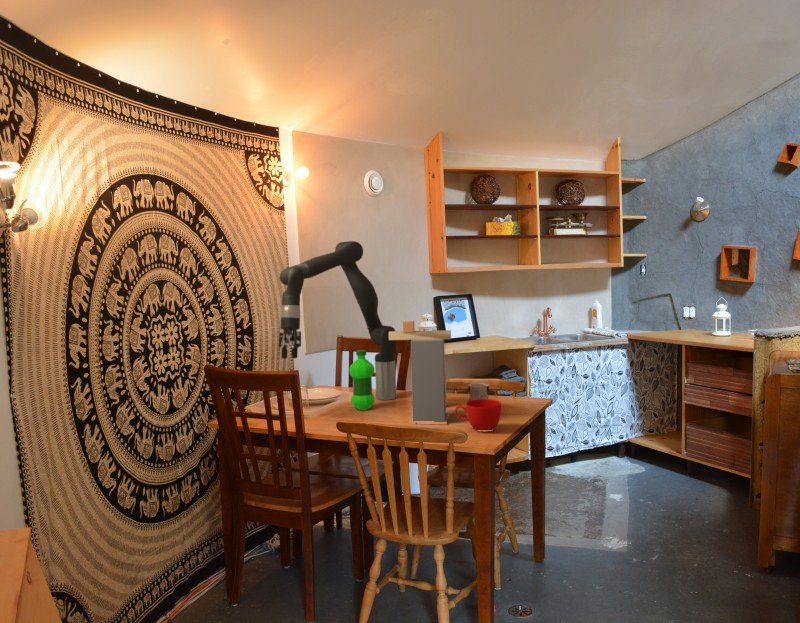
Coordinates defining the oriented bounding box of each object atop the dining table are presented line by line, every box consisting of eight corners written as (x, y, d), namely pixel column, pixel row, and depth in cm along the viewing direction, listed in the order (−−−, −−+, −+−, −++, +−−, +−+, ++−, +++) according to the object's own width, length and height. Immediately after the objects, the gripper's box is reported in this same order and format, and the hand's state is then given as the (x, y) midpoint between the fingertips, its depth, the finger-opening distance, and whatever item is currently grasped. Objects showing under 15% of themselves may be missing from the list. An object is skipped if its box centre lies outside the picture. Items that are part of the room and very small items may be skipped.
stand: (414, 415, 254) (411, 336, 251) (448, 415, 252) (446, 336, 249) (410, 424, 240) (407, 341, 237) (446, 424, 238) (444, 341, 235)
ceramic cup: (456, 424, 237) (456, 398, 237) (502, 425, 235) (501, 399, 234) (454, 434, 225) (453, 407, 224) (501, 435, 222) (501, 407, 221)
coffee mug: (491, 411, 256) (490, 386, 256) (470, 411, 256) (469, 387, 256) (486, 404, 268) (486, 381, 267) (466, 405, 268) (466, 382, 267)
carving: (487, 416, 248) (487, 386, 247) (468, 416, 249) (468, 386, 248) (488, 412, 254) (487, 383, 253) (469, 412, 255) (469, 383, 254)
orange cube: (404, 331, 246) (404, 320, 246) (414, 330, 245) (414, 320, 245) (403, 332, 242) (402, 322, 242) (413, 332, 242) (413, 321, 241)
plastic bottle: (355, 412, 261) (353, 353, 259) (348, 407, 270) (346, 350, 268) (378, 409, 264) (376, 351, 262) (370, 404, 274) (368, 348, 272)
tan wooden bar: (390, 338, 247) (389, 331, 246) (451, 337, 244) (450, 330, 243) (388, 340, 243) (388, 332, 243) (450, 339, 240) (450, 331, 240)
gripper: (307, 316, 244) (306, 358, 242) (290, 319, 255) (289, 358, 254) (290, 315, 239) (289, 357, 238) (273, 317, 251) (272, 358, 249)
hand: (289, 358), depth 246 cm, fingers open, 8 cm apart
